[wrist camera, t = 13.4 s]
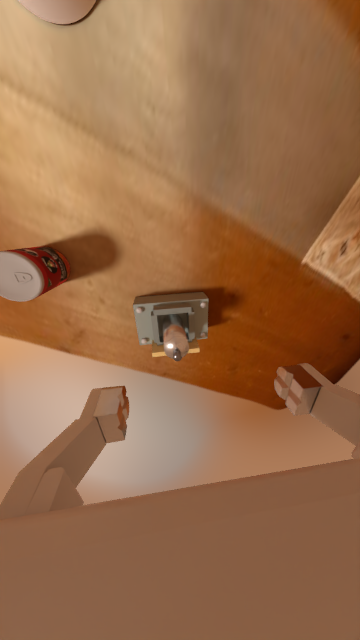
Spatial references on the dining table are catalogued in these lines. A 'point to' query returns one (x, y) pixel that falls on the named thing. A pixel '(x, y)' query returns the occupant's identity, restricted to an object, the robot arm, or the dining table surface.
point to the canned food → (31, 272)
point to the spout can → (174, 337)
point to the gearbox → (159, 306)
